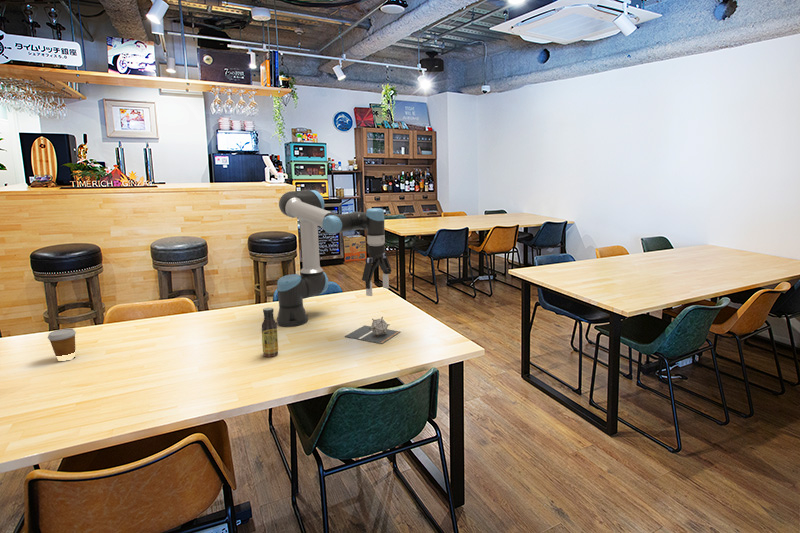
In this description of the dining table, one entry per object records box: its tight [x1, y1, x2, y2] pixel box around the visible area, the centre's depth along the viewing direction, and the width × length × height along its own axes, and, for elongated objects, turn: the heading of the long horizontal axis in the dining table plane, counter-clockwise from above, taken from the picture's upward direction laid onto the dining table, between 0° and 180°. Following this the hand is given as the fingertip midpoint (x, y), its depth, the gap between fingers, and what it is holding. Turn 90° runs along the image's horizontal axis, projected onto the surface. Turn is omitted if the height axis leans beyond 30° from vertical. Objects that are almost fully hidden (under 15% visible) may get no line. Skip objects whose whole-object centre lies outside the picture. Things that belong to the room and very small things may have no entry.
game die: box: [369, 316, 391, 337], centre depth 205 cm, size 9×8×10 cm
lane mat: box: [344, 325, 402, 345], centre depth 208 cm, size 20×16×1 cm
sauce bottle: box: [261, 307, 279, 358], centre depth 186 cm, size 7×6×20 cm
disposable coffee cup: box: [47, 328, 77, 357], centre depth 190 cm, size 10×10×12 cm
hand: (377, 291), depth 202 cm, fingers open, 13 cm apart
